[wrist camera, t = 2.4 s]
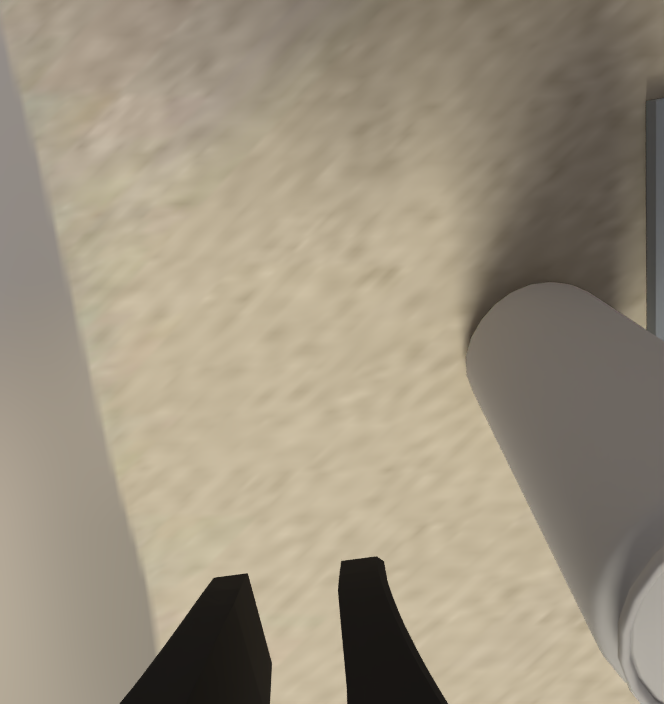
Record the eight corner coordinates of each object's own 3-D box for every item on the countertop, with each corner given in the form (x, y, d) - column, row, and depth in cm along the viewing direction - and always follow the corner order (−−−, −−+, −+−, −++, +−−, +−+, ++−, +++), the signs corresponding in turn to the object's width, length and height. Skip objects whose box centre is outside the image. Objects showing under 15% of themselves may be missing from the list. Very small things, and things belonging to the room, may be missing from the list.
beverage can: (457, 417, 21) (590, 755, 10) (466, 277, 19) (639, 486, 8) (600, 417, 21) (907, 759, 9) (622, 277, 19) (1023, 487, 8)
